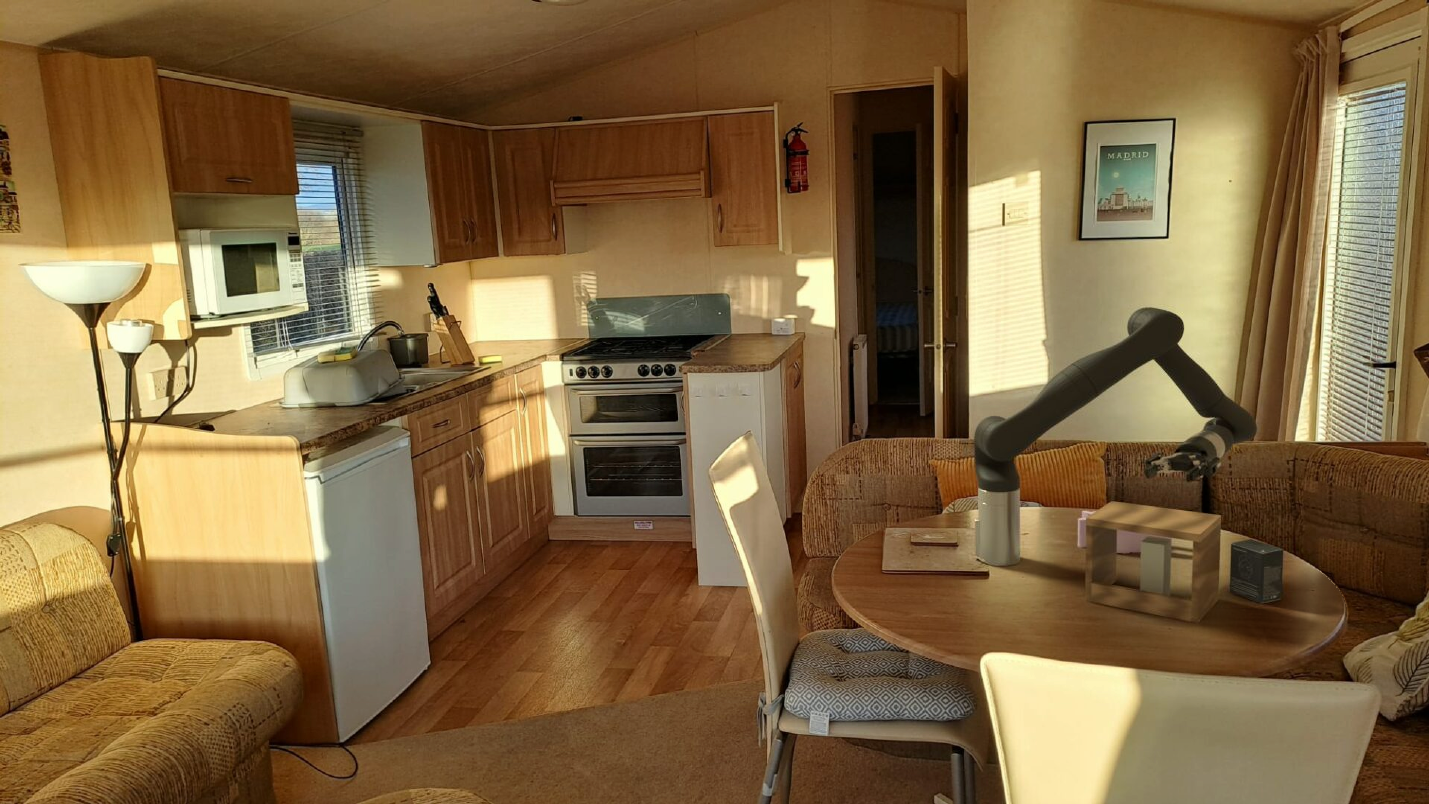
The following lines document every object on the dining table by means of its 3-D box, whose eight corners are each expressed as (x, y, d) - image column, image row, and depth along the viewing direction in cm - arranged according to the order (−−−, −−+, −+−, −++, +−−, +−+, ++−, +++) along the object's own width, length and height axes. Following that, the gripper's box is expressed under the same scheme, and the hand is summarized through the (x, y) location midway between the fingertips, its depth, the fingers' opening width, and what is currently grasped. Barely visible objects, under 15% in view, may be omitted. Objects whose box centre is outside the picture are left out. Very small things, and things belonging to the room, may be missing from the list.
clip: (1172, 543, 239) (1173, 514, 238) (1169, 559, 229) (1169, 530, 227) (1083, 535, 249) (1083, 508, 248) (1075, 550, 238) (1076, 522, 237)
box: (1282, 599, 202) (1284, 548, 200) (1260, 604, 200) (1262, 553, 198) (1249, 587, 209) (1251, 538, 207) (1228, 592, 207) (1230, 542, 206)
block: (1139, 598, 207) (1140, 541, 204) (1147, 591, 210) (1148, 535, 208) (1162, 602, 204) (1164, 545, 202) (1169, 595, 207) (1171, 539, 205)
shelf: (1085, 600, 207) (1086, 518, 204) (1110, 580, 217) (1111, 501, 214) (1197, 622, 193) (1200, 534, 190) (1218, 599, 204) (1221, 515, 201)
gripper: (1166, 433, 228) (1132, 456, 218) (1232, 437, 217) (1200, 462, 207) (1169, 465, 229) (1136, 489, 219) (1235, 470, 219) (1203, 496, 209)
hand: (1167, 476), depth 213 cm, fingers open, 8 cm apart
